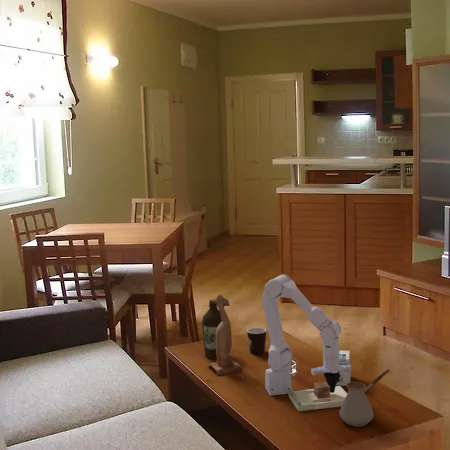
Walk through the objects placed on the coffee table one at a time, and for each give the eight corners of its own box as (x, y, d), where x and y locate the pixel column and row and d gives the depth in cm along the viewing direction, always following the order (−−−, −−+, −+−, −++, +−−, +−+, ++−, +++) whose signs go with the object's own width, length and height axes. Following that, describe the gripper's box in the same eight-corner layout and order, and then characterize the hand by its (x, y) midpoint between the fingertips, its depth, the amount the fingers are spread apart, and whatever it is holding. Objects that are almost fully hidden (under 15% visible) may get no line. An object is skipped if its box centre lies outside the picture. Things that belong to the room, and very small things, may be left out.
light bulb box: (350, 386, 257) (349, 359, 255) (332, 385, 258) (331, 358, 257) (350, 376, 267) (350, 350, 266) (333, 375, 269) (333, 349, 267)
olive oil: (207, 350, 304) (205, 296, 301) (230, 351, 301) (227, 297, 298) (200, 358, 294) (197, 303, 290) (223, 360, 291) (221, 303, 288)
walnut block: (317, 398, 242) (317, 388, 242) (313, 393, 247) (313, 383, 246) (330, 397, 243) (329, 386, 242) (325, 392, 247) (325, 381, 247)
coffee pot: (355, 432, 219) (354, 388, 217) (332, 420, 229) (331, 377, 227) (402, 415, 230) (402, 373, 228) (378, 404, 240) (378, 364, 238)
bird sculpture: (243, 371, 278) (242, 295, 274) (217, 376, 273) (216, 298, 269) (231, 363, 288) (229, 290, 284) (206, 368, 283) (204, 293, 279)
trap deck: (298, 411, 237) (298, 401, 236) (288, 396, 250) (288, 387, 249) (352, 405, 240) (352, 395, 240) (340, 391, 253) (340, 382, 252)
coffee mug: (267, 355, 295) (266, 333, 294) (247, 355, 295) (247, 333, 294) (266, 346, 307) (265, 325, 305) (247, 347, 307) (246, 325, 305)
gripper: (315, 361, 238) (315, 398, 240) (354, 357, 241) (354, 393, 243) (309, 355, 245) (310, 390, 247) (347, 351, 247) (347, 386, 250)
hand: (331, 391), depth 245 cm, fingers closed
